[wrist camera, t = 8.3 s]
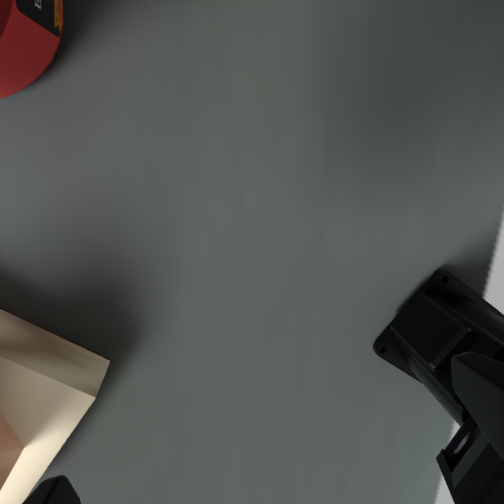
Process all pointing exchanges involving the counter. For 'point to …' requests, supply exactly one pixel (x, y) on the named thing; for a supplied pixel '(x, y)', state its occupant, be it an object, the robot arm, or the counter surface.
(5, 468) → the block
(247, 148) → the counter surface
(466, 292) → the robot arm
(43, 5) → the canned food
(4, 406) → the base
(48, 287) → the counter surface
